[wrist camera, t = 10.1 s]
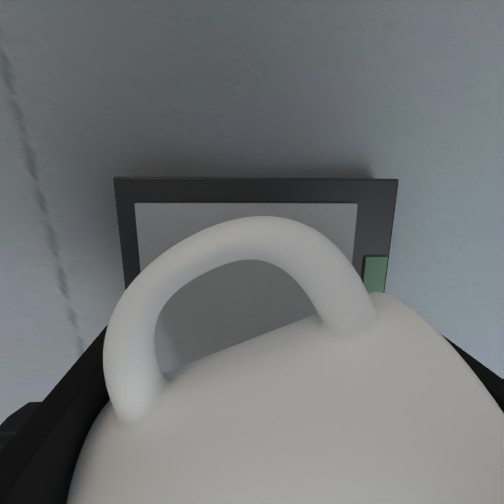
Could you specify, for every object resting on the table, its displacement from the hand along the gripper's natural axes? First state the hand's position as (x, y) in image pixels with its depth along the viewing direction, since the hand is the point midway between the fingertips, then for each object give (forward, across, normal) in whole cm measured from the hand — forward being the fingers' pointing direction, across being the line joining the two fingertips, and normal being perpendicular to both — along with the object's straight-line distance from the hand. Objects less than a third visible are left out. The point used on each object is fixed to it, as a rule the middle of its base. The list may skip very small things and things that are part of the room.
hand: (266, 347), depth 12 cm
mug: (+1, 0, 0) cm, 1 cm away
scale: (+6, 0, 0) cm, 6 cm away
